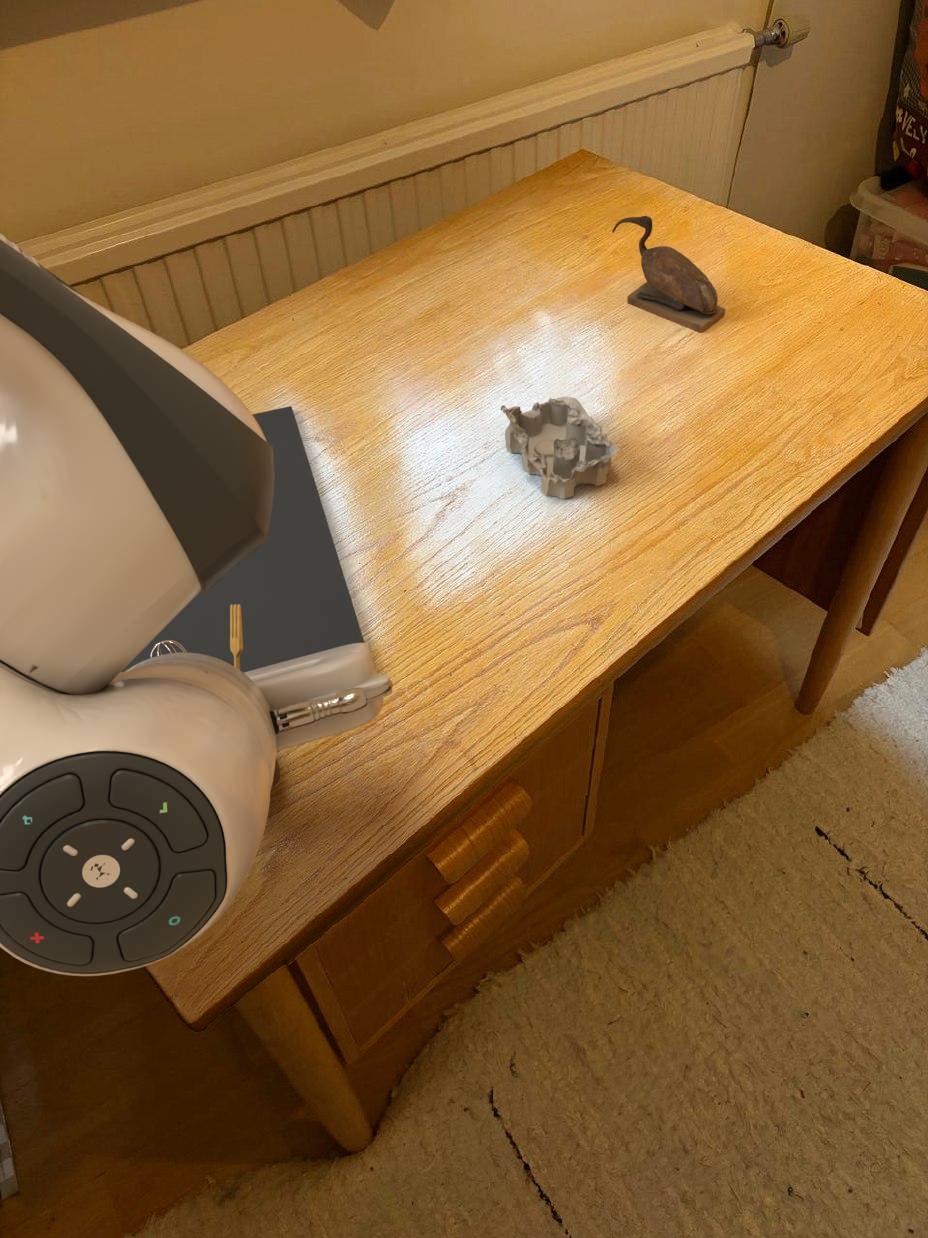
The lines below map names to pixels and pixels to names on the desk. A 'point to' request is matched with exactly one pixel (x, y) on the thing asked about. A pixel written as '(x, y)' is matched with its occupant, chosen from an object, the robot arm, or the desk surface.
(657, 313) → the figurine
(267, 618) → the desk mat
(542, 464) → the egg carton
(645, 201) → the desk surface
